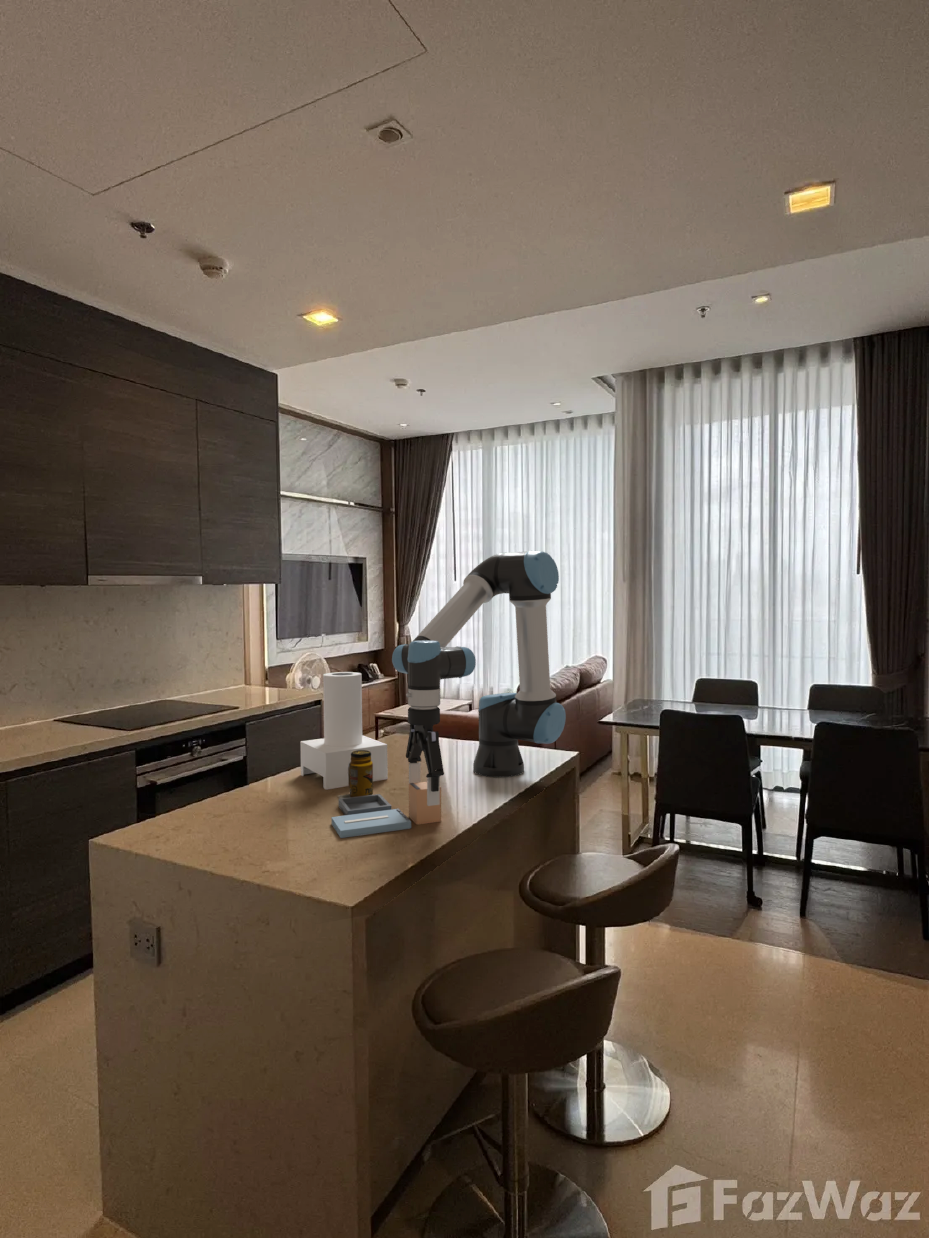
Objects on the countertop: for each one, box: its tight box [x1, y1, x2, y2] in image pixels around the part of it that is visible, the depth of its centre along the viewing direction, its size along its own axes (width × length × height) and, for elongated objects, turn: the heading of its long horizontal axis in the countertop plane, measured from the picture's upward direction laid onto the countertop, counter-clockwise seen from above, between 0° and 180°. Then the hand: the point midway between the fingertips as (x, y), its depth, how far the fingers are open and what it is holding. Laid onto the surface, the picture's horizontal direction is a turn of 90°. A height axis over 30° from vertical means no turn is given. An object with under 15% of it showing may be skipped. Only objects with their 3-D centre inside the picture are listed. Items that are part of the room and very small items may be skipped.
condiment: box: [337, 750, 374, 799], centre depth 179 cm, size 7×8×12 cm
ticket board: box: [330, 808, 412, 839], centre depth 157 cm, size 16×10×2 cm, turn 112°
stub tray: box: [338, 793, 392, 816], centre depth 168 cm, size 11×11×2 cm
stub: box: [408, 781, 442, 825], centre depth 161 cm, size 6×6×8 cm
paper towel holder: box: [300, 671, 389, 791], centre depth 199 cm, size 19×19×30 cm
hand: (423, 797), depth 161 cm, fingers open, 13 cm apart
